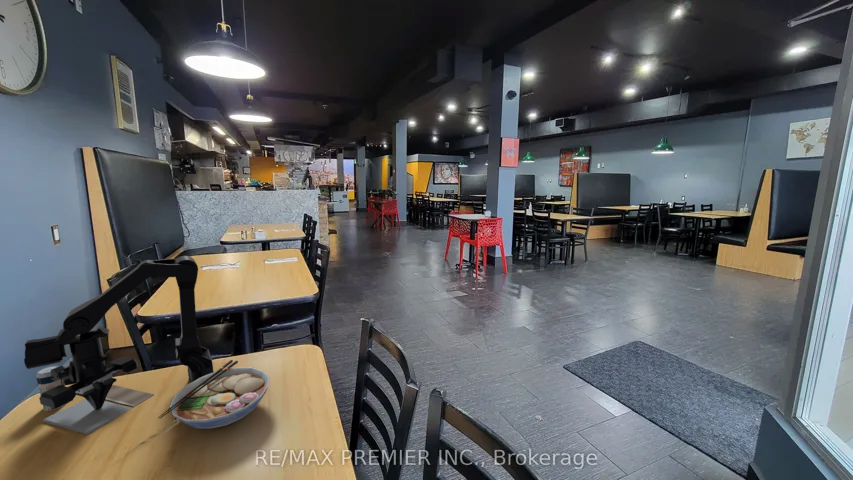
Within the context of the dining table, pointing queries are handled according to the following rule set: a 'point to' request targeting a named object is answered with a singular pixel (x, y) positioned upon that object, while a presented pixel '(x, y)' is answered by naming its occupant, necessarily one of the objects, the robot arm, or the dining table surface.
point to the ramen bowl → (220, 397)
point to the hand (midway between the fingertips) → (98, 408)
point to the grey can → (47, 383)
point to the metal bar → (126, 396)
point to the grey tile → (86, 416)
